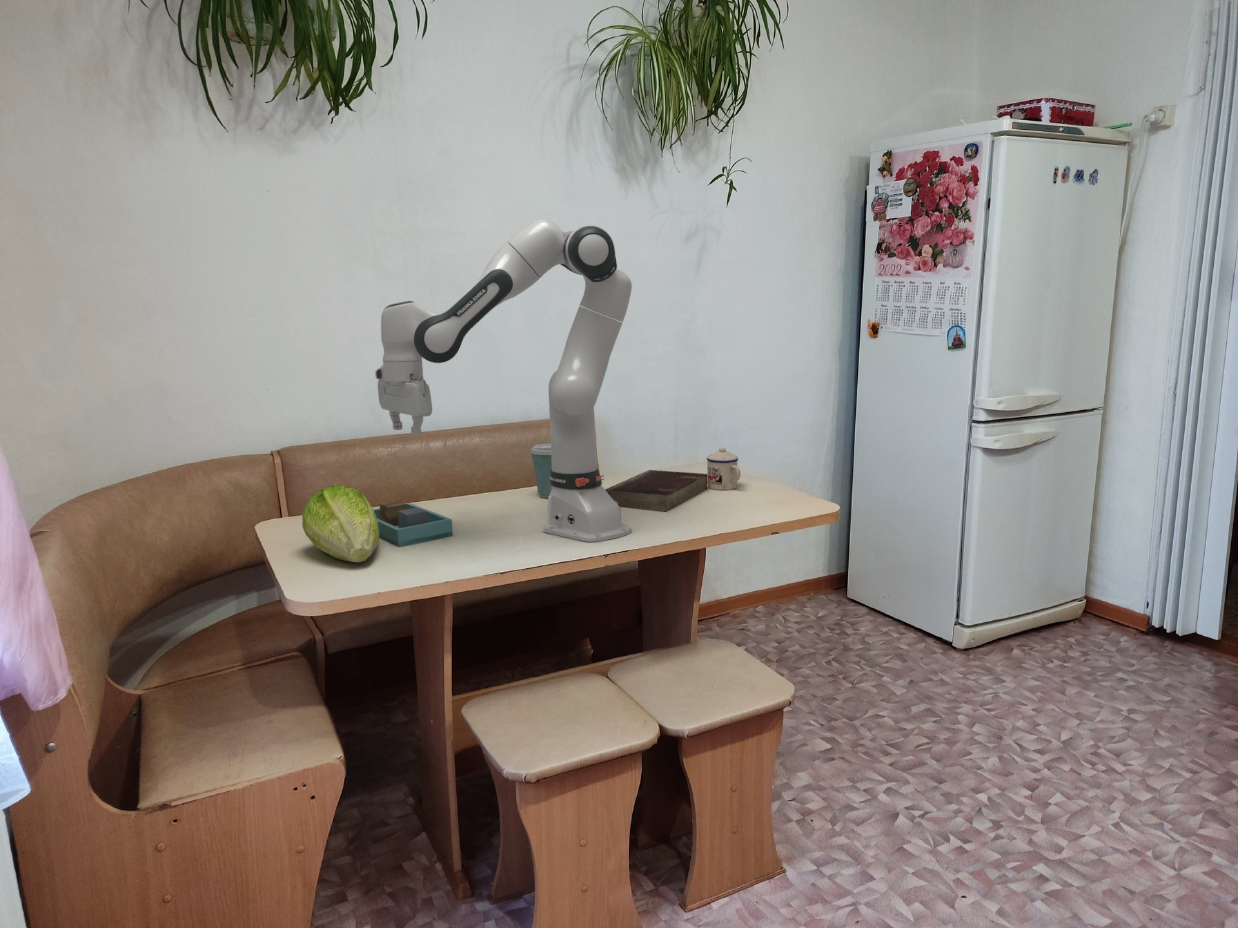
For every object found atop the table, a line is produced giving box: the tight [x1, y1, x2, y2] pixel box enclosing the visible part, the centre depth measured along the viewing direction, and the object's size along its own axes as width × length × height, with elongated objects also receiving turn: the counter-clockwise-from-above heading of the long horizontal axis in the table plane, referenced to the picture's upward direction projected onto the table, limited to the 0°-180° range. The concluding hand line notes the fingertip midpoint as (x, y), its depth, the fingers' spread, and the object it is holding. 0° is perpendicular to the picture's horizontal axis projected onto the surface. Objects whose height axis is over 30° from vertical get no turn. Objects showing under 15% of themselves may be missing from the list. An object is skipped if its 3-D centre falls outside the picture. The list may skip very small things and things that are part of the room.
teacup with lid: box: [706, 447, 741, 491], centre depth 252 cm, size 12×9×12 cm
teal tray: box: [373, 502, 454, 548], centre depth 211 cm, size 22×14×4 cm, turn 40°
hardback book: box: [604, 469, 708, 513], centre depth 243 cm, size 29×19×5 cm, turn 153°
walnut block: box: [378, 499, 408, 526], centre depth 215 cm, size 5×5×5 cm
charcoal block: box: [398, 508, 427, 528], centre depth 208 cm, size 5×5×5 cm
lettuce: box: [301, 484, 380, 563], centre depth 193 cm, size 15×24×16 cm
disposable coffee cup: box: [530, 442, 552, 499], centre depth 245 cm, size 11×11×15 cm
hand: (406, 432), depth 204 cm, fingers open, 8 cm apart
